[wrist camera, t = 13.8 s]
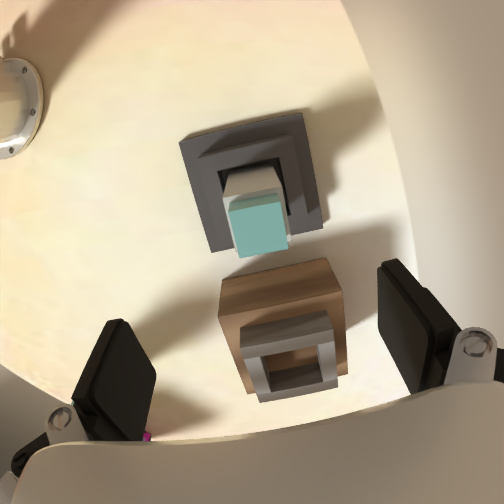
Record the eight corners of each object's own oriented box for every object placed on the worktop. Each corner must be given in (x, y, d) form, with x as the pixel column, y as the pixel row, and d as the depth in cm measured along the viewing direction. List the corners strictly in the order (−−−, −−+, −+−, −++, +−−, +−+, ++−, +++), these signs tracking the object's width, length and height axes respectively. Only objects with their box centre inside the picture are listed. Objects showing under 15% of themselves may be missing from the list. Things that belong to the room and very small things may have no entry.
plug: (229, 170, 30) (220, 207, 19) (270, 161, 30) (285, 193, 19) (238, 208, 32) (234, 264, 21) (278, 200, 31) (295, 253, 21)
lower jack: (180, 141, 30) (171, 145, 26) (300, 113, 29) (308, 113, 25) (212, 248, 35) (208, 266, 31) (321, 225, 34) (330, 239, 30)
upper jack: (222, 280, 36) (215, 337, 27) (326, 257, 35) (350, 309, 26) (246, 354, 41) (247, 413, 32) (335, 336, 40) (353, 392, 31)
